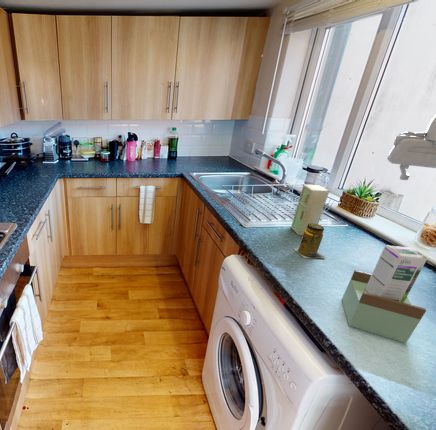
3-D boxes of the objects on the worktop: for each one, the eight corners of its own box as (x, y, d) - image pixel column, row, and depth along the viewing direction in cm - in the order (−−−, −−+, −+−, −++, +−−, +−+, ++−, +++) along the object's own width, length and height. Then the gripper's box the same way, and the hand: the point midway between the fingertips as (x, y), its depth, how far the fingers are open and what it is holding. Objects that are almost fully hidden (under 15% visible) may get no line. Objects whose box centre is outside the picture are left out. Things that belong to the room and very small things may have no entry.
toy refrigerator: (288, 227, 132) (301, 183, 124) (305, 228, 131) (320, 185, 123) (296, 235, 125) (310, 190, 116) (314, 236, 124) (330, 191, 116)
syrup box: (377, 302, 75) (402, 255, 69) (363, 288, 80) (385, 243, 74) (402, 305, 74) (429, 258, 68) (386, 291, 79) (410, 246, 73)
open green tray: (392, 313, 82) (409, 282, 78) (406, 343, 73) (426, 310, 68) (341, 299, 88) (354, 269, 83) (348, 325, 78) (363, 293, 73)
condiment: (293, 248, 115) (301, 221, 110) (314, 249, 115) (323, 222, 110) (303, 258, 108) (313, 230, 103) (326, 259, 108) (337, 231, 103)
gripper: (402, 132, 81) (382, 179, 87) (508, 139, 72) (478, 191, 78) (395, 129, 86) (376, 174, 92) (493, 136, 77) (466, 185, 83)
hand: (424, 182), depth 85 cm, fingers open, 8 cm apart
